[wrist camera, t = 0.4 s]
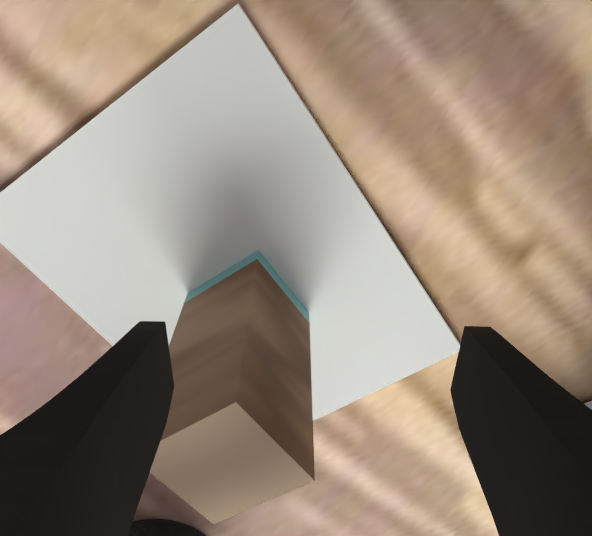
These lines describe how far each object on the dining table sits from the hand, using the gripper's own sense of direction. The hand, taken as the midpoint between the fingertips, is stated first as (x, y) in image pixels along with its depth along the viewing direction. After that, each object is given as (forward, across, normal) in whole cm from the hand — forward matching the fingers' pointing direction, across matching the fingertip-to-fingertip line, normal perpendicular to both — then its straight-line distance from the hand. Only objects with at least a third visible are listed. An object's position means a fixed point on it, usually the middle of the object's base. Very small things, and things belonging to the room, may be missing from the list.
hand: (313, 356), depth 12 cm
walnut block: (+10, +3, +5) cm, 11 cm away
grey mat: (+10, +3, +4) cm, 11 cm away
